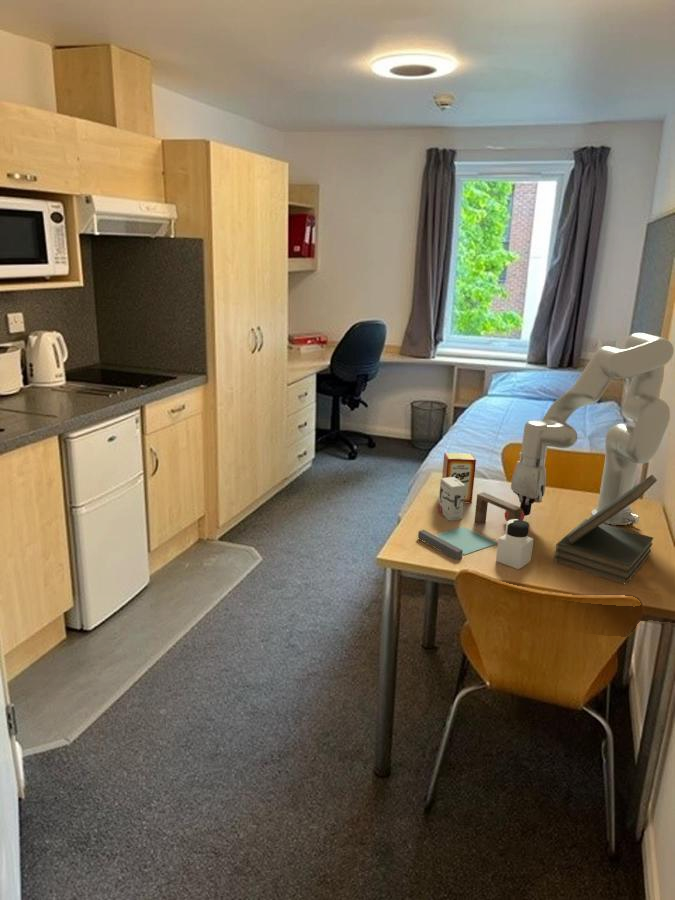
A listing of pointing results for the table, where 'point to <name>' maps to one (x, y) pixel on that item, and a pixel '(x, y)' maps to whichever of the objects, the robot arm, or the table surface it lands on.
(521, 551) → the medicine bottle
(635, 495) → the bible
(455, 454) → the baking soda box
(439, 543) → the stopper wall
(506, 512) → the ball
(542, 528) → the table surface
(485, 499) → the bridge
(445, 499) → the ink box
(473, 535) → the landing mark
